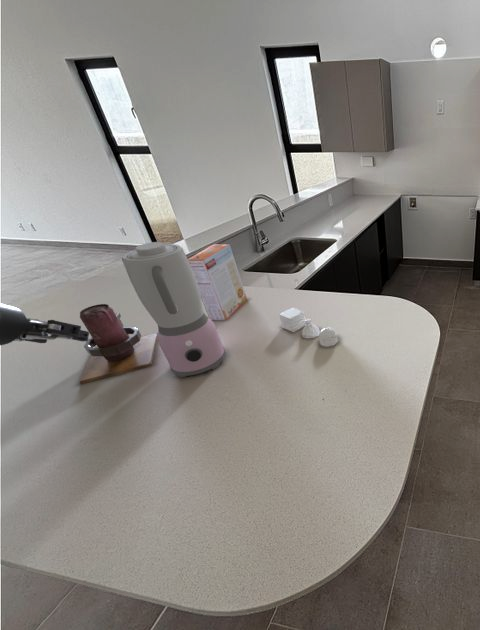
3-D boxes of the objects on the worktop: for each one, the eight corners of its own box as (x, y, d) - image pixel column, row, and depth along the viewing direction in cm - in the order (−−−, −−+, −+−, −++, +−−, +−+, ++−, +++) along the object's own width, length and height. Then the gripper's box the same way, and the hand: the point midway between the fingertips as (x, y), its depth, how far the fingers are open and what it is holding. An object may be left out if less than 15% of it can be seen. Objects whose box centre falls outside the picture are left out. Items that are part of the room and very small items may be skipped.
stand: (82, 386, 79) (58, 352, 74) (98, 351, 91) (79, 320, 86) (152, 367, 85) (135, 335, 80) (159, 337, 97) (144, 307, 92)
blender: (173, 359, 88) (116, 242, 72) (223, 344, 94) (182, 233, 78) (174, 394, 77) (107, 265, 61) (231, 375, 83) (185, 253, 66)
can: (124, 362, 85) (97, 315, 78) (99, 362, 85) (70, 315, 78) (141, 348, 90) (117, 302, 83) (118, 348, 90) (92, 303, 83)
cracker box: (231, 301, 117) (212, 243, 106) (248, 301, 117) (231, 243, 106) (208, 321, 105) (184, 259, 94) (227, 322, 104) (204, 259, 94)
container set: (282, 329, 101) (278, 314, 98) (296, 321, 105) (293, 306, 102) (328, 351, 91) (326, 334, 89) (342, 341, 95) (340, 325, 92)
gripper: (24, 298, 59) (103, 319, 75) (-64, 301, 58) (35, 322, 74) (13, 339, 57) (97, 352, 73) (-77, 343, 56) (27, 356, 72)
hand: (66, 337), depth 73 cm, fingers open, 8 cm apart
